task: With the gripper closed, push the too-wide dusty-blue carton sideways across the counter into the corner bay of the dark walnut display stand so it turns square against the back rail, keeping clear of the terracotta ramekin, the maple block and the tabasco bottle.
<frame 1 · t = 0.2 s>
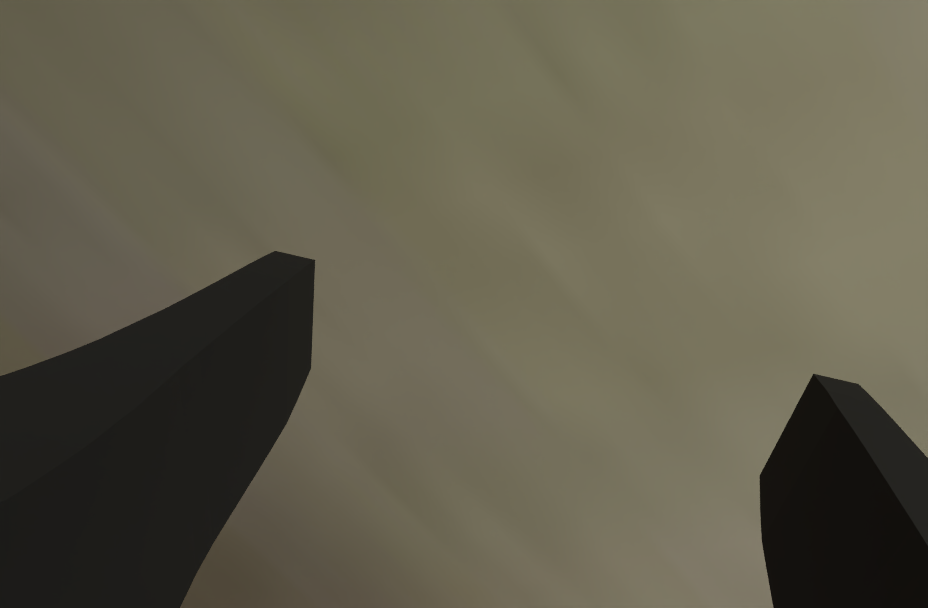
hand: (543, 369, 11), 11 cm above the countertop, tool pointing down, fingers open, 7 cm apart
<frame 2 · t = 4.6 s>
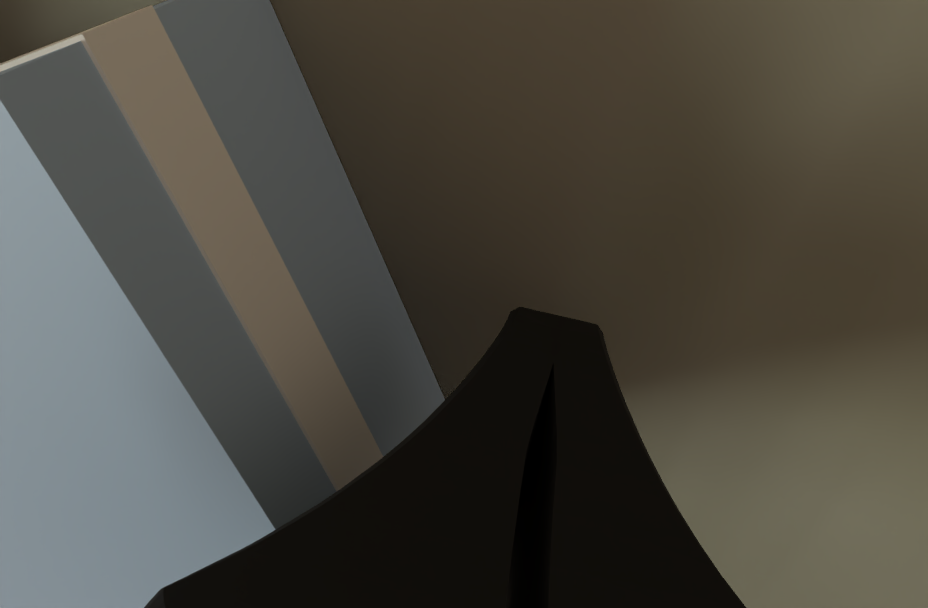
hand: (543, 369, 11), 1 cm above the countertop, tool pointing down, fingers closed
carton: (213, 268, 13), on the countertop, touching gripper
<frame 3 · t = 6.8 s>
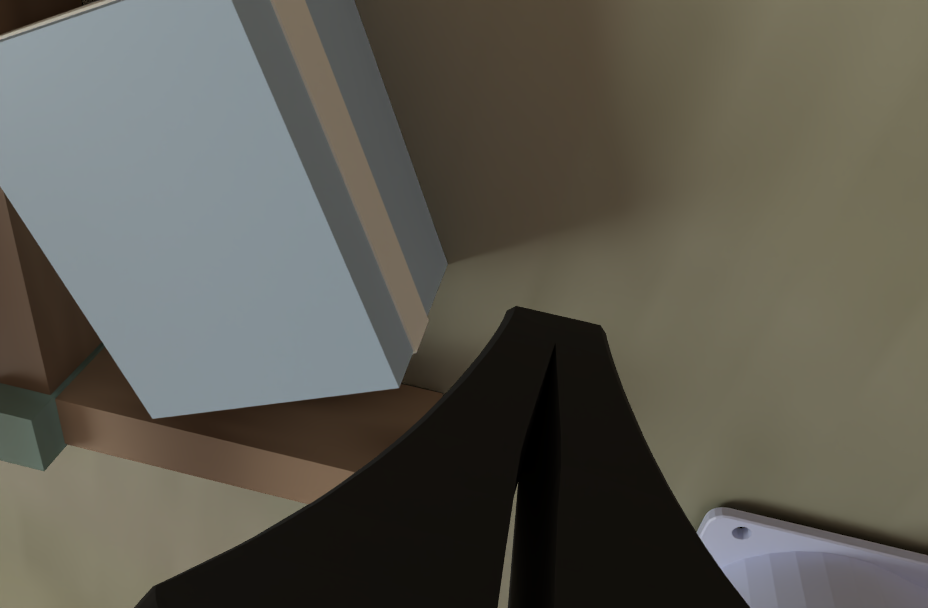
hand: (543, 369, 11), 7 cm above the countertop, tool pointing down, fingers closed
display stand: (231, 132, 18), on the countertop
carton: (280, 138, 18), on the countertop
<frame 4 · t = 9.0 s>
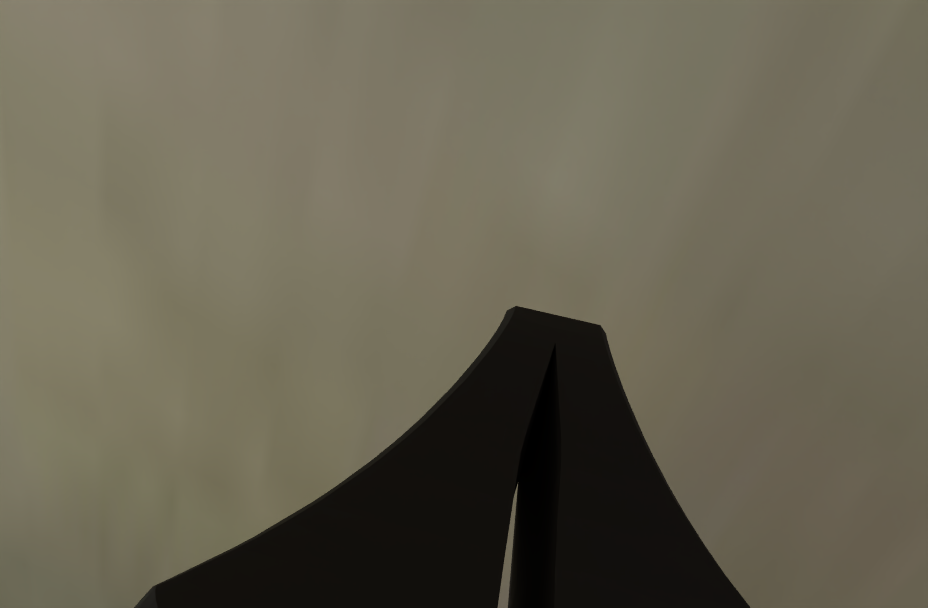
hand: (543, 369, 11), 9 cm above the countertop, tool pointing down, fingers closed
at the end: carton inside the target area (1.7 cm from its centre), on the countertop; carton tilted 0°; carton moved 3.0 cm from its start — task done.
